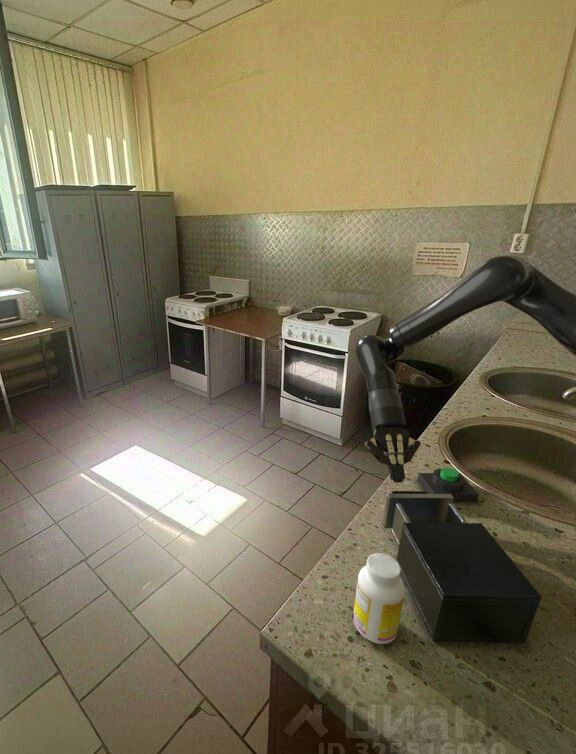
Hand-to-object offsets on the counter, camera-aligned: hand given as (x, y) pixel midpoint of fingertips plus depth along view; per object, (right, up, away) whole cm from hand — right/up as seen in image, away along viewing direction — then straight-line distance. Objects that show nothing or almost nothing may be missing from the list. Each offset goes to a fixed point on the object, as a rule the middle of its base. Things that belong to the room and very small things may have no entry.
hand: (398, 482), depth 90 cm
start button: (+13, 0, +3) cm, 13 cm away
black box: (-1, -14, -22) cm, 26 cm away
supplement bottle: (-16, -16, -26) cm, 35 cm away
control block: (+13, -3, +4) cm, 14 cm away
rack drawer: (-1, -8, -12) cm, 14 cm away
